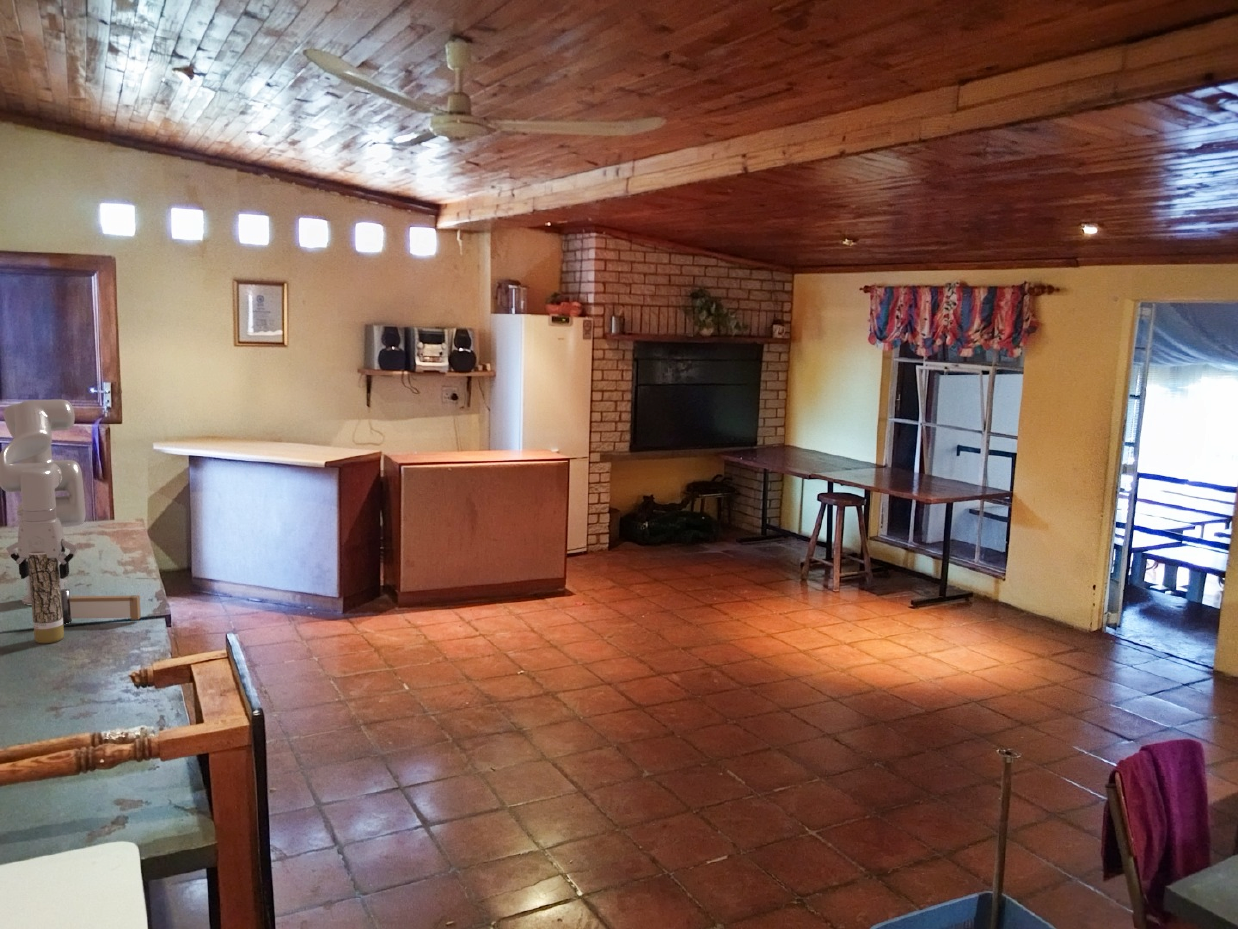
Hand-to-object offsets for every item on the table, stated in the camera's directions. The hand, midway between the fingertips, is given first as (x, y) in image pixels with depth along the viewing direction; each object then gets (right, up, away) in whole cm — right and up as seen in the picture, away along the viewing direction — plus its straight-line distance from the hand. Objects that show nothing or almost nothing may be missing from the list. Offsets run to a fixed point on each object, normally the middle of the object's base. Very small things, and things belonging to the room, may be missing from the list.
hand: (44, 577), depth 247 cm
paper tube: (0, -17, +2) cm, 18 cm away
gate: (+7, -14, +17) cm, 23 cm away
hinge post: (-4, -15, +16) cm, 22 cm away
